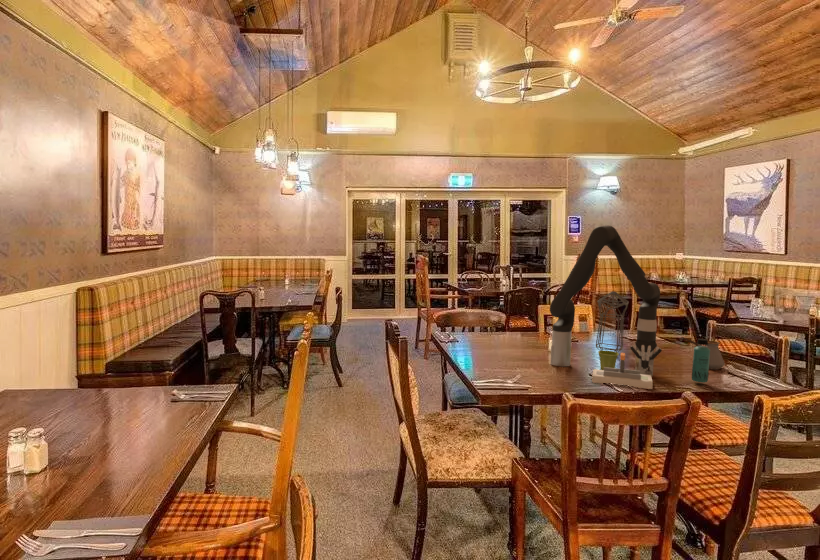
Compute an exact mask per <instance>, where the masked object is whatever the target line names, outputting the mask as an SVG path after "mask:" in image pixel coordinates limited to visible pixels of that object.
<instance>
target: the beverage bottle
mask: <svg viewBox="0 0 820 560" xmlns="http://www.w3.org/2000/svg"><path fill="white" fill-rule="evenodd" d="M696 341H697V342H696V343H697V344H700V345H702V346H698V345H695V346H694V348H693V358H692V368H691V380H692V381H693V382H698V383H708V381H709V371H710V369H709V357H710V349H709V348H708V347H706V345H708V341H709V340H708V339H705V338H698V339H697V340H696ZM704 346H705V347H704Z"/></svg>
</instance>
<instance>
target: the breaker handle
mask: <svg viewBox="0 0 820 560" xmlns="http://www.w3.org/2000/svg"><path fill="white" fill-rule="evenodd" d="M625 361H626V353H625V352H620V361H619V363H620V364H619V365H620V366H619V369H620V370H618V372H620V373H626V371H624V369H625V364H626V363H625Z"/></svg>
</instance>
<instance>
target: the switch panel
mask: <svg viewBox="0 0 820 560" xmlns="http://www.w3.org/2000/svg"><path fill="white" fill-rule="evenodd" d="M618 370H620V368H616V367H615V368H608V367H604V370H601V369H594V368H593V370H592V375H591V376H592V377H591V381H592V382H591V383H594V384H603V383H616V384H624V385H629V386H634V387H633V388H637V387H638V389H639V388H640V389H645V390H646V389H648V390H653V379H652V376H651V375H644V374H640V371H637V370H635V369H625V368H624V371H626V373H620V372H618Z"/></svg>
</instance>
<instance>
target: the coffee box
mask: <svg viewBox="0 0 820 560" xmlns="http://www.w3.org/2000/svg"><path fill="white" fill-rule="evenodd" d="M636 351H637V352H638V354H639V355H640V356H641V351H640V350H639V349H638V348H637V346H636ZM654 353H655V349H654V350H653V351H652V352H651V353H650V356H651V355H652V354H654ZM645 360H646V352H645ZM654 362H655V358H654V359H653V360H649V366H648V368H647V369H643V367H641V359H639V358H637V356H636V355H635V365H634V370H637V371H640V374H644V375H651V377H653V376H654Z"/></svg>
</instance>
